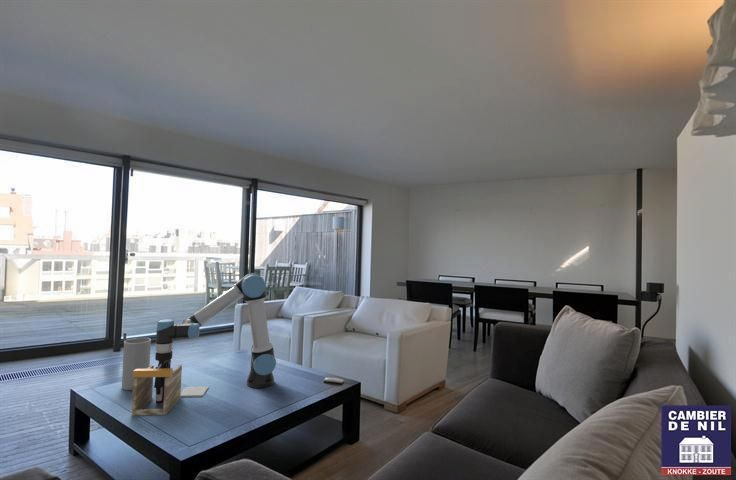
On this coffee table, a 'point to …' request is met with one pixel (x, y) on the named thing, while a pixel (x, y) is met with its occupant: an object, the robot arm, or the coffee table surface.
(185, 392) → the pad
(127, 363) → the cylinder vase
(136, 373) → the tie bar
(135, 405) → the cradle
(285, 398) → the coffee table surface
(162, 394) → the cup
